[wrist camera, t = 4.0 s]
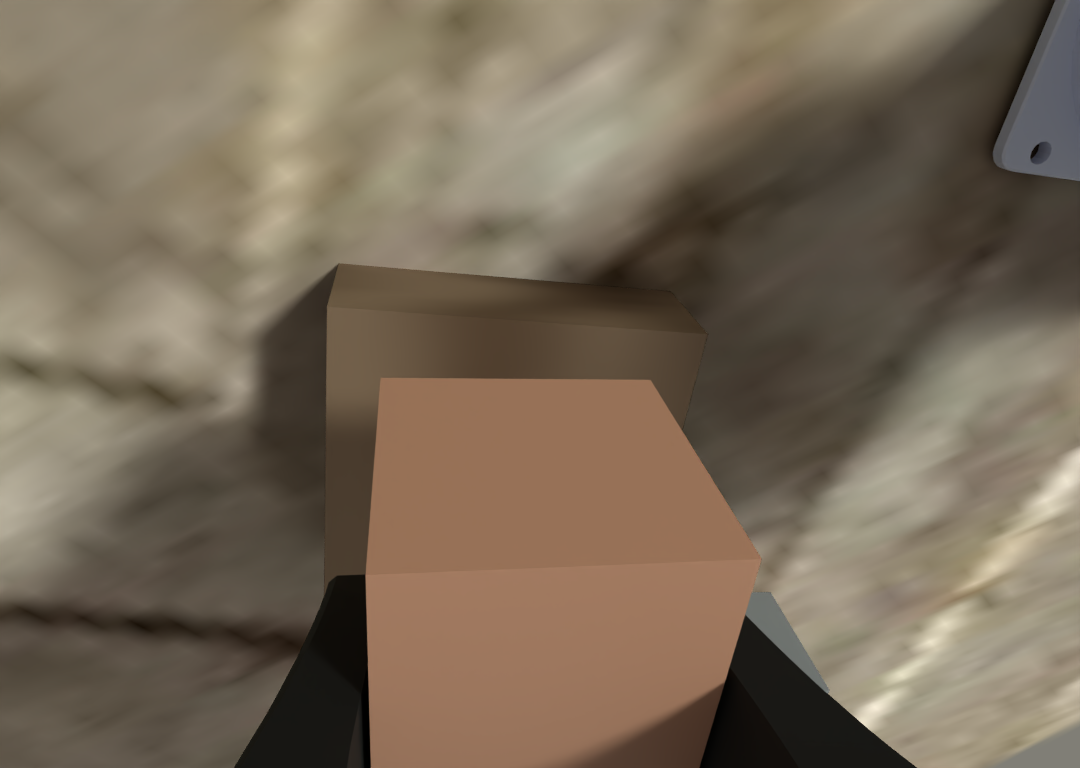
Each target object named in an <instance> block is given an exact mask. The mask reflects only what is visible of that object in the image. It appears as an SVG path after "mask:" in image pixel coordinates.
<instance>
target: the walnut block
mask: <svg viewBox="0 0 1080 768" xmlns="http://www.w3.org/2000/svg"><path fill="white" fill-rule="evenodd" d="M707 337H708V334H707V333H706V331H705V330H704V329H703V328H702V327H701V326H700V325H699V323H698V322H697V321H696V320H695V319H694V318H693V317H692V315H691V314H690V313H689V312H688V311H687V310H686V309H685V307H684V306H683V305H682V304H681V303H680V302H679V301H678V299H677V298H676V297H675V296H674V295H673V294H672V293H671V291H659V290H647V289H635V288H623V287H612V286H600V285H588V284H576V283H564V282H552V281H540V280H528V279H516V278H505V277H493V276H481V275H469V274H457V273H445V272H433V271H421V270H410V269H398V268H386V267H374V266H362V265H350V264H338V268H337V272H336V275H335V279H334V283H333V287H332V290H331V294H330V298H329V301H328V305H327V357H326V457H325V557H324V595H325V592H326V589H327V586H328V583H329V582H330V581H331V580H332V579H333V578H334V577H336V576H338V575H362V574H366V563H367V550H368V536H369V523H370V510H371V497H372V484H373V471H374V458H375V444H376V431H377V418H378V405H379V392H380V379H381V378H473V379H607V380H651V382H652V383H653V385H654V386H655V388H656V390H657V391H658V393H659V394H660V396H661V398H662V399H663V401H664V402H665V404H666V406H667V407H668V409H669V411H670V412H671V414H672V415H673V417H674V419H675V420H676V422H677V423H678V425H679V427H680V428H681V430H683V426H684V422H685V419H686V415H687V411H688V407H689V404H690V400H691V396H692V392H693V389H694V385H695V381H696V378H697V374H698V370H699V366H700V363H701V359H702V355H703V352H704V348H705V344H706V340H707Z"/></svg>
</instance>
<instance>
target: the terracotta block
mask: <svg viewBox="0 0 1080 768" xmlns="http://www.w3.org/2000/svg"><path fill="white" fill-rule="evenodd" d="M761 560H762V559H761V557H760V555H759V554H758V552H757V551H756V549H755V547H754V546H753V544H752V542H751V541H750V539H749V538H748V536H747V534H746V533H745V531H744V530H743V528H742V526H741V525H740V523H739V522H738V520H737V518H736V517H735V515H734V513H733V512H732V510H731V509H730V507H729V505H728V504H727V502H726V501H725V499H724V497H723V496H722V494H721V493H720V491H719V489H718V488H717V486H716V485H715V483H714V481H713V480H712V478H711V476H710V475H709V473H708V472H707V470H706V468H705V467H704V465H703V464H702V462H701V460H700V459H699V457H698V456H697V454H696V452H695V451H694V449H693V448H692V446H691V444H690V443H689V441H688V439H687V438H686V436H685V435H684V433H683V431H682V430H681V428H680V427H679V425H678V423H677V422H676V420H675V419H674V417H673V415H672V414H671V412H670V411H669V409H668V407H667V406H666V404H665V402H664V401H663V399H662V398H661V396H660V394H659V393H658V391H657V390H656V388H655V386H654V385H653V383H652V382H651V380H607V379H473V378H381V379H380V392H379V405H378V418H377V431H376V444H375V458H374V471H373V484H372V497H371V510H370V523H369V536H368V550H367V563H366V608H367V644H368V680H369V716H370V752H371V768H699V767H700V764H701V760H702V757H703V754H704V750H705V747H706V744H707V740H708V737H709V734H710V730H711V727H712V724H713V720H714V717H715V714H716V710H717V707H718V704H719V700H720V697H721V694H722V690H723V687H724V684H725V680H726V677H727V674H728V670H729V667H730V664H731V660H732V657H733V653H734V650H735V647H736V643H737V640H738V637H739V633H740V630H741V627H742V623H743V620H744V617H745V613H746V610H747V607H748V603H749V600H750V597H751V593H752V590H753V587H754V583H755V580H756V577H757V573H758V570H759V567H760V563H761Z"/></svg>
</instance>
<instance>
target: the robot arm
mask: <svg viewBox="0 0 1080 768" xmlns="http://www.w3.org/2000/svg"><path fill="white" fill-rule="evenodd" d="M1037 144H1039V148H1038V152H1037V153H1036V155H1035V156H1034V157H1033V158H1032V159H1030V156H1031V152H1032V150H1033V149H1034V147H1035V146H1036V145H1037ZM993 159H994V162H995V163H996V165H997V166H998V167H1000V168H1003V169H1006V170H1009V171H1012V172H1019V173H1026V174H1033V175H1041V176H1048V177H1055V178H1062V179H1069V180H1076V181H1080V0H1055V2H1054V5H1053V7H1052V9H1051V12H1050V14H1049V17H1048V19H1047V21H1046V24H1045V26H1044V29H1043V31H1042V33H1041V36H1040V38H1039V41H1038V43H1037V45H1036V48H1035V50H1034V53H1033V55H1032V57H1031V60H1030V62H1029V65H1028V67H1027V69H1026V72H1025V74H1024V77H1023V79H1022V81H1021V84H1020V86H1019V88H1018V91H1017V93H1016V96H1015V98H1014V100H1013V103H1012V105H1011V108H1010V110H1009V112H1008V115H1007V117H1006V120H1005V122H1004V124H1003V127H1002V129H1001V132H1000V134H999V136H998V139H997V141H996V144H995V147H994V151H993ZM234 768H371V752H370V716H369V680H368V644H367V608H366V574H362V575H338V576H336V577H334V578H333V579H332V580H331V581H330V582H329V583H328V586H327V589H326V592H325V595H324V598H323V601H322V603H321V606H320V608H319V611H318V613H317V616H316V618H315V621H314V623H313V625H312V627H311V630H310V632H309V634H308V636H307V638H306V640H305V642H304V644H303V646H302V648H301V651H300V653H299V655H298V657H297V659H296V661H295V663H294V664H293V666H292V668H291V670H290V672H289V674H288V676H287V678H286V679H285V681H284V683H283V685H282V687H281V689H280V691H279V693H278V694H277V696H276V698H275V700H274V702H273V704H272V705H271V707H270V709H269V711H268V713H267V714H266V716H265V718H264V719H263V721H262V723H261V724H260V726H259V728H258V729H257V731H256V732H255V734H254V736H253V737H252V739H251V741H250V742H249V744H248V746H247V747H246V749H245V751H244V752H243V754H242V755H241V757H240V759H239V760H238V762H237V764H236V765H235V767H234ZM699 768H917V767H915V766H914V765H913V764H911V763H910V762H909V761H908V760H906V759H905V758H904V757H902V756H901V755H900V754H899V753H897V752H896V751H895V750H893V749H892V748H891V747H889V746H888V745H887V744H886V743H885V742H883V741H882V740H881V739H880V738H878V737H877V736H876V735H875V734H874V733H872V732H871V731H870V730H869V729H868V728H866V727H865V726H864V725H863V724H862V723H861V722H859V721H858V720H857V719H856V718H855V717H854V716H853V715H851V714H850V713H849V712H848V711H847V710H846V709H845V708H843V707H842V706H841V705H840V704H839V703H838V702H837V701H835V700H834V699H833V698H832V697H831V696H830V695H829V694H827V693H826V692H825V691H824V690H823V689H822V688H821V687H820V686H819V685H817V684H816V683H815V682H814V681H813V680H812V679H811V678H810V677H809V676H808V675H807V674H806V673H804V672H803V671H802V670H801V669H800V668H799V667H798V666H797V665H796V664H795V663H794V662H793V661H792V660H791V659H790V658H789V657H788V656H787V655H786V654H785V653H783V652H782V651H781V650H780V649H779V648H778V647H777V646H776V645H775V644H774V643H773V642H772V641H771V640H770V639H769V638H768V637H767V636H766V635H765V634H764V633H763V632H762V631H761V630H760V629H759V628H758V627H757V626H756V625H755V624H754V623H753V622H752V621H751V620H750V619H749V618H748V617H747V616H746V615H745V617H744V620H743V623H742V627H741V630H740V633H739V637H738V640H737V643H736V647H735V650H734V653H733V657H732V660H731V664H730V667H729V670H728V674H727V677H726V680H725V684H724V687H723V690H722V694H721V697H720V700H719V704H718V707H717V710H716V714H715V717H714V720H713V724H712V727H711V730H710V734H709V737H708V740H707V744H706V747H705V750H704V754H703V757H702V760H701V764H700V767H699Z"/></svg>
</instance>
